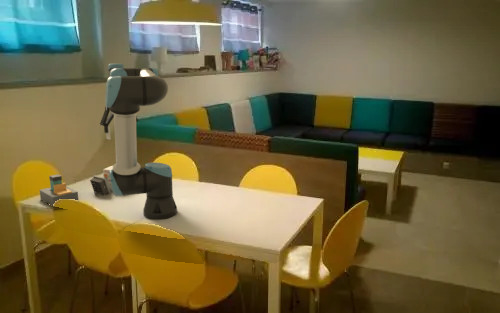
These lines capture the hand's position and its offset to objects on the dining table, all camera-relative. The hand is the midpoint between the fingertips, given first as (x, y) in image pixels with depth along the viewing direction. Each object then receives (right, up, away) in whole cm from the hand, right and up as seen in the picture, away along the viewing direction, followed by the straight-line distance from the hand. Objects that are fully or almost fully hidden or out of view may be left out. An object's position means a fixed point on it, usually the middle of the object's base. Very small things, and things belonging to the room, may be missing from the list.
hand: (120, 137), depth 218 cm
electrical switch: (-12, -29, +6) cm, 32 cm away
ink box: (-7, -27, +15) cm, 32 cm away
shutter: (-25, -27, -9) cm, 38 cm away
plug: (-30, -31, -4) cm, 43 cm away
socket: (-29, -31, -5) cm, 43 cm away
